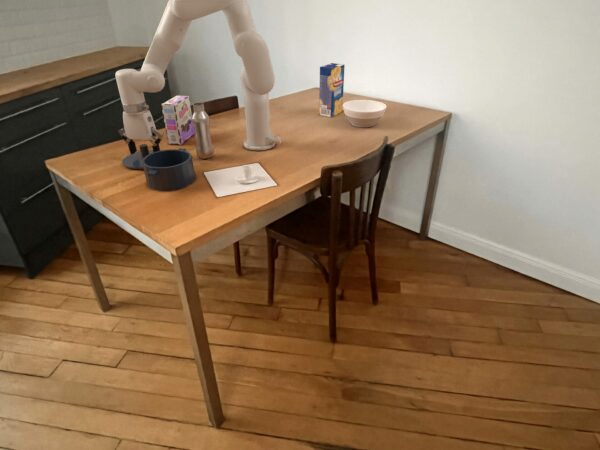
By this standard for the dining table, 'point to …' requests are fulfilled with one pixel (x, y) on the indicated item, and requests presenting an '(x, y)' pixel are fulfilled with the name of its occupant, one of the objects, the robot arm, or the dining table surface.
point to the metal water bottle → (202, 131)
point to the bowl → (364, 112)
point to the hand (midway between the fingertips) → (145, 153)
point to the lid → (137, 158)
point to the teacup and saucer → (239, 179)
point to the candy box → (178, 119)
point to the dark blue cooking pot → (169, 169)
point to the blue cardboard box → (331, 89)
